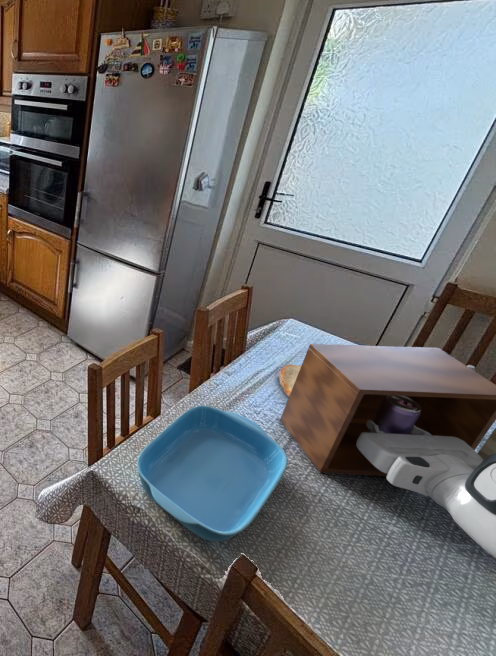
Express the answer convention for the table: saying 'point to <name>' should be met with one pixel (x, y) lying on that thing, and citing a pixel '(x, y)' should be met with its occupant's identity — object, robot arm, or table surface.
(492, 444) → the cupboard door
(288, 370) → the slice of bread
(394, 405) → the beverage can
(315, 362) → the cupboard
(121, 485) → the table surface
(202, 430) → the casserole dish
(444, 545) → the table surface
